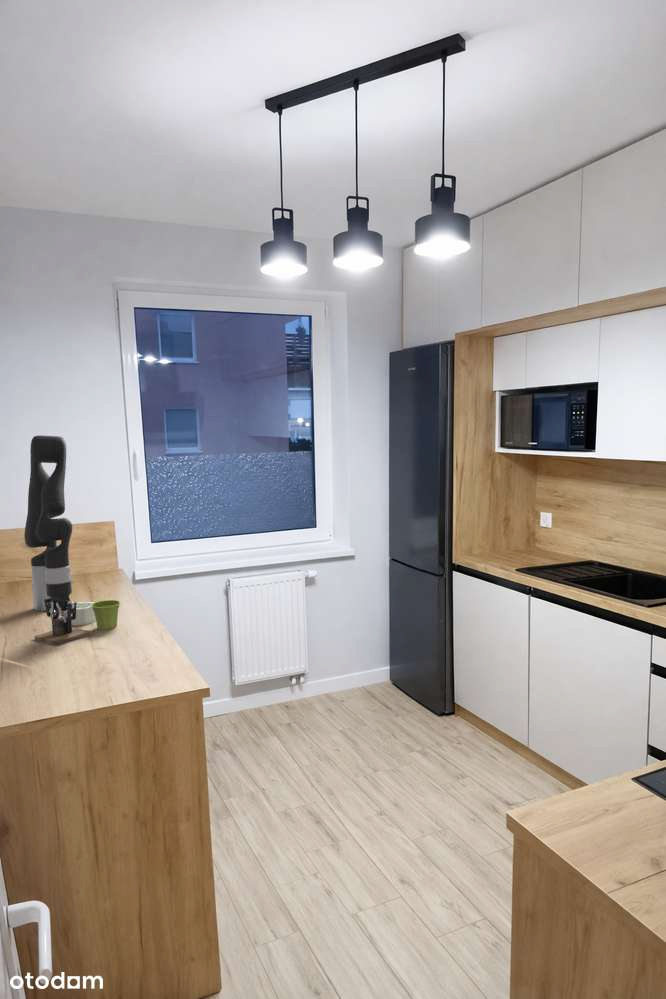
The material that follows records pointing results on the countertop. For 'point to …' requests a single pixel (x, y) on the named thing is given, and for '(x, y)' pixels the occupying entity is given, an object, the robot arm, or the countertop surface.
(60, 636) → the lid
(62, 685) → the countertop surface
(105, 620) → the plant pot
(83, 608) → the bowl
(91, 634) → the mat
